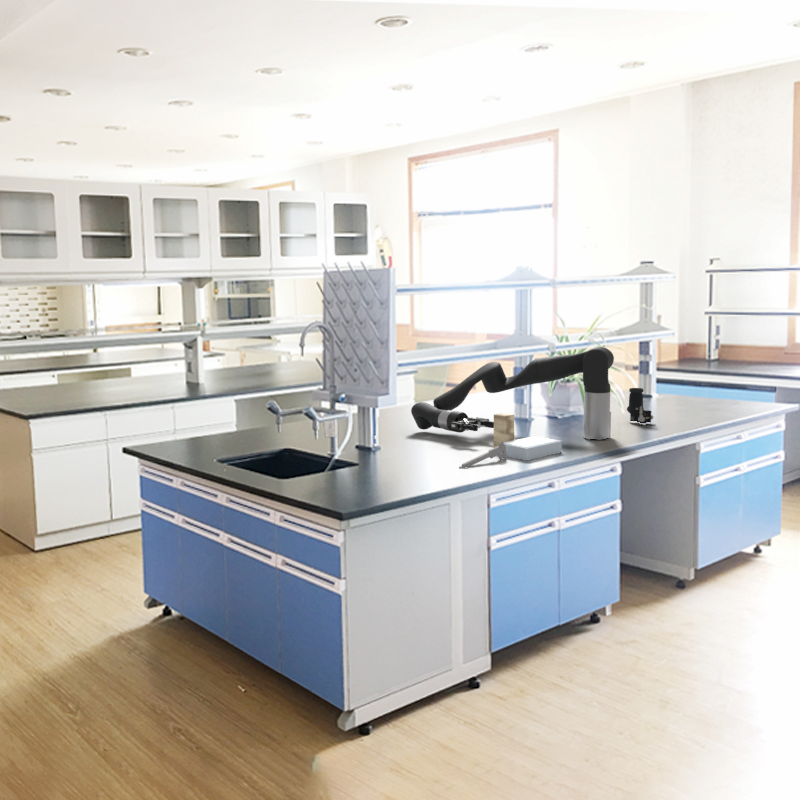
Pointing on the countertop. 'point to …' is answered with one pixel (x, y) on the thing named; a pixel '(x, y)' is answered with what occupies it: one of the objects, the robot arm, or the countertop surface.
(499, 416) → the maple block
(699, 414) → the countertop surface
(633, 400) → the scope
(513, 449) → the white chamfered block
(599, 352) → the robot arm
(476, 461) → the caliper
